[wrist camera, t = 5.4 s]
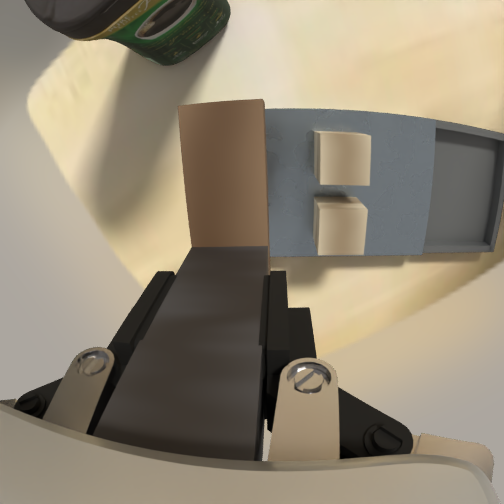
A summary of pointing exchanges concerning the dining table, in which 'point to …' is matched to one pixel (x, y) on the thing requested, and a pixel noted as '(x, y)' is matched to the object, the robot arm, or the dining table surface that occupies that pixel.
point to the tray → (465, 189)
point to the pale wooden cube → (339, 225)
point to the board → (372, 197)
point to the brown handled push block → (207, 303)
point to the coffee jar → (138, 23)
